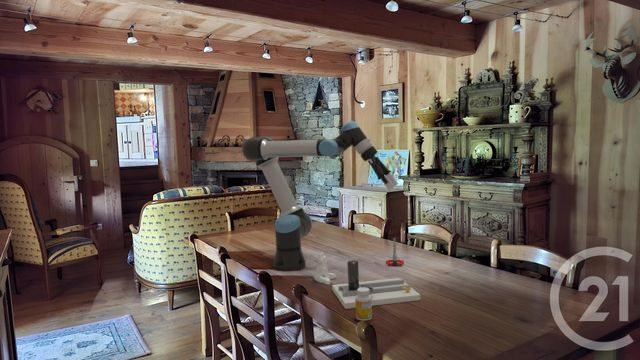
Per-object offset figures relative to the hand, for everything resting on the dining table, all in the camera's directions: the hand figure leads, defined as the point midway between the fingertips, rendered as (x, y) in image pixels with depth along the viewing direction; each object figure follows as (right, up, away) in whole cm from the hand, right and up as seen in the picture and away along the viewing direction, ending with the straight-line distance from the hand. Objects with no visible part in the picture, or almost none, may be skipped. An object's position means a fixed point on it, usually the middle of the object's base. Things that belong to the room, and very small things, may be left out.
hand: (393, 187), depth 202 cm
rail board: (-13, -40, -36) cm, 55 cm away
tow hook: (+1, -36, +4) cm, 36 cm away
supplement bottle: (-19, -42, -56) cm, 73 cm away
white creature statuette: (-32, -39, -17) cm, 54 cm away
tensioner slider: (-19, -39, -40) cm, 58 cm away
